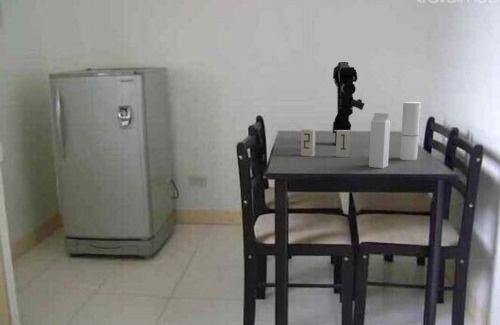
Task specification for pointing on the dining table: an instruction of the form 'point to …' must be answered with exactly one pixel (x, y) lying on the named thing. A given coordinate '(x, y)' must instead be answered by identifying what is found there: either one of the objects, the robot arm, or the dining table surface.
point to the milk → (379, 141)
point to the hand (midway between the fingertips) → (345, 126)
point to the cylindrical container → (410, 130)
